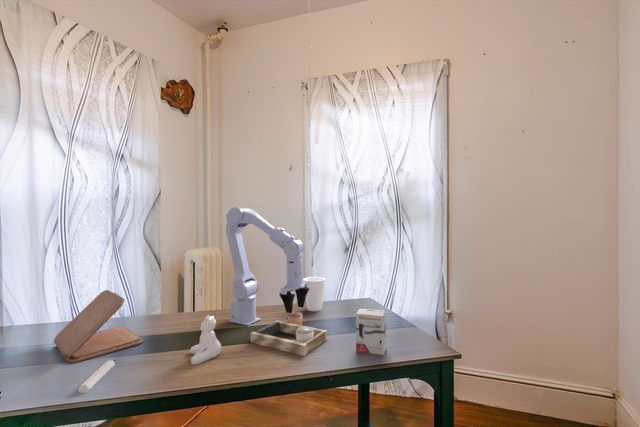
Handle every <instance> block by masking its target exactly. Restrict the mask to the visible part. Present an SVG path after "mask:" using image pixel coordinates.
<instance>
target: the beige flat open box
mask: <svg viewBox="0 0 640 427" xmlns="http://www.w3.org/2000/svg"><path fill="white" fill-rule="evenodd" d="M277 321H278V322H280V332H282V333H284V334H285V333H286V334H291V335H295V336H296V330H297V328H299V327H303V326H304V325H303V326H302V325H297V324H292V323H287V322H286V321H282V320H276V321H274V322H277ZM310 327H311V326H310ZM311 328H312V329H313V338H311V339H310V340H308V341H306V342H305V343H301V342H297V341H296V340H291V339H288V338H282V337H279V336H274V335H273V336H270V335H266V334H262V333H257V331H251V332H250V344H251V343H252V344H255V345H256V344H257V345H260V346H262V347H263V346H264V347H268V348H271V349H276V350H278V351H279V350H280V351H283V352H287V353H291V354H296V355H300V356H306V355H308V354H309V353H310V352H312V351H313V350H314V349H316V348H317V347H319V346H320V345H322V344H323V343H324V342H326V341H328V333H329V332H328V330H326V329H321V328H315V327H311Z"/></svg>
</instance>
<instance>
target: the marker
mask: <svg viewBox="0 0 640 427" xmlns="http://www.w3.org/2000/svg"><path fill="white" fill-rule="evenodd" d="M115 362H116V359H115V360H114V359H113V360H112V359H111V360H109V359H108V360H107V361H106V362H105V363H103V364H102V365H101V366H100V367H99V368H98V369H97V370H96V371H95V372H93V373H92V374H91V375H90V376H89V377H88V378H87V379H86V380H85V381H83V382H82V384H80V385H79V388H78V389H77V391H78V392H79V394H85V393H88V392H90V391H91V389H93V388H94V386H96V384H97V383H98V382H100V381H101V379H103V378H104V376H106V375H107V373H109V372H110V371H111V370H112V369H113V368H114V366H115Z"/></svg>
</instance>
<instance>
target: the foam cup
mask: <svg viewBox="0 0 640 427" xmlns="http://www.w3.org/2000/svg"><path fill="white" fill-rule="evenodd" d="M302 281H307V287H308V288H309V291H308V293H307V295H306V298H305V303H306V310H307V311H309V312H320V311H322V309H323V301H324V292H325V285H326V278H325V277H321V276H309V277H305V278H302Z"/></svg>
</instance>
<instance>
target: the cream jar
mask: <svg viewBox="0 0 640 427" xmlns="http://www.w3.org/2000/svg"><path fill="white" fill-rule="evenodd" d="M312 328H313V327H312ZM312 328H311V326H308V325H307V326H306V325H303V327H299V328H297V330H296V335H295V341H297V342H301V343H305V342H306V341H308V340H310V339H311V338H313V329H312Z"/></svg>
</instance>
